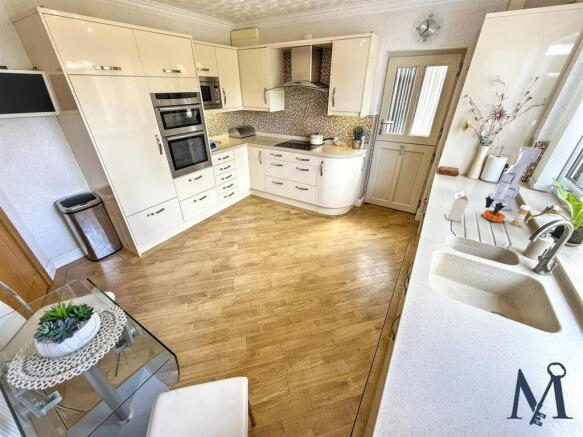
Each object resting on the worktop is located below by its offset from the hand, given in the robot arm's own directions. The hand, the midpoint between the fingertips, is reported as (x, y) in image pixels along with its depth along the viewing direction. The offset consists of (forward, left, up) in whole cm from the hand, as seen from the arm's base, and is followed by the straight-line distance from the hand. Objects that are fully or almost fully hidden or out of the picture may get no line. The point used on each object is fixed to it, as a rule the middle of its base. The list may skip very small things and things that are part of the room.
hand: (490, 210), depth 157 cm
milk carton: (+28, +6, -4) cm, 29 cm away
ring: (0, +4, -3) cm, 5 cm away
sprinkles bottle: (-10, +10, -4) cm, 15 cm away
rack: (0, +4, -4) cm, 6 cm away
